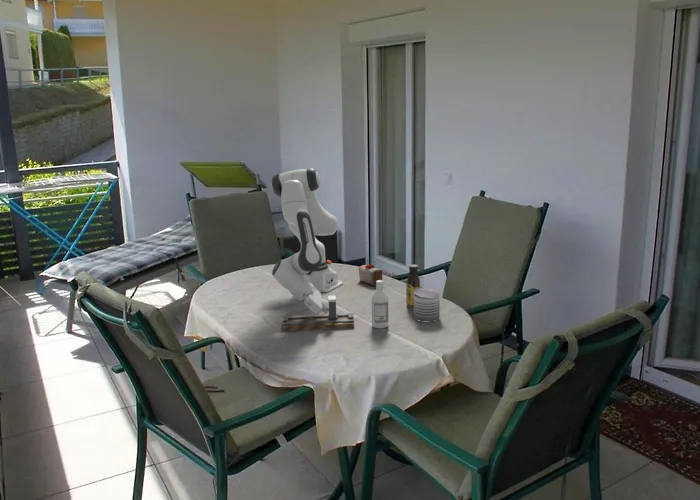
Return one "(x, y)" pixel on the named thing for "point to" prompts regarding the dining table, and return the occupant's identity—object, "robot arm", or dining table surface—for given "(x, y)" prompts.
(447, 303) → the dining table surface
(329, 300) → the fader knob
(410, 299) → the sauce bottle
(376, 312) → the bath foam
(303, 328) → the fader console
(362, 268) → the food item
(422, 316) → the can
